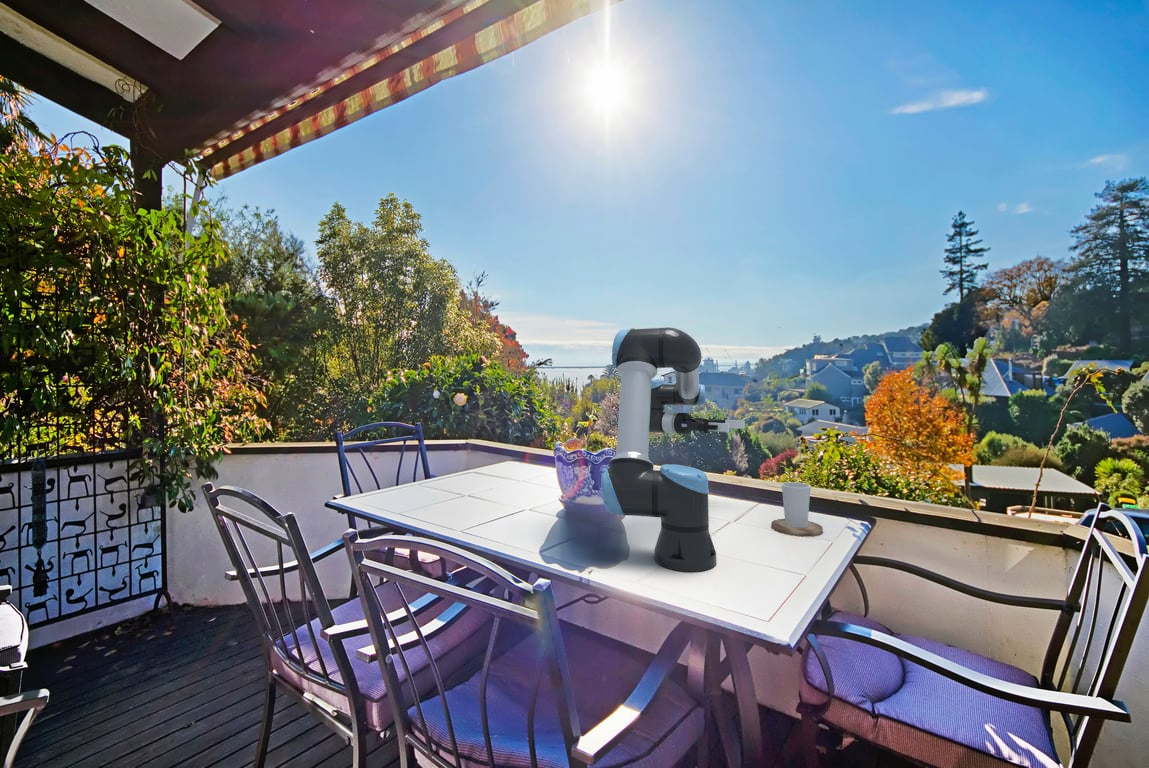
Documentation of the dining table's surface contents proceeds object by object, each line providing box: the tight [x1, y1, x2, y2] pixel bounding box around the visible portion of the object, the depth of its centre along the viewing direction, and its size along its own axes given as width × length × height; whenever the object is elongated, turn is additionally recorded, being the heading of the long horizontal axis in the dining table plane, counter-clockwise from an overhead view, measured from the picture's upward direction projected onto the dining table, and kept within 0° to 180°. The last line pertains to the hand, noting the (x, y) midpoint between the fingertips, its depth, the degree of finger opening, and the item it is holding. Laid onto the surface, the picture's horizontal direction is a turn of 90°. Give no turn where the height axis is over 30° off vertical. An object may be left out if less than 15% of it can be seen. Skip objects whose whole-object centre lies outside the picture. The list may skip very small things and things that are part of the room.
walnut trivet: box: [771, 518, 824, 537], centre depth 146 cm, size 14×14×1 cm
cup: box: [781, 481, 812, 528], centre depth 146 cm, size 8×8×12 cm
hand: (736, 426), depth 158 cm, fingers open, 13 cm apart
